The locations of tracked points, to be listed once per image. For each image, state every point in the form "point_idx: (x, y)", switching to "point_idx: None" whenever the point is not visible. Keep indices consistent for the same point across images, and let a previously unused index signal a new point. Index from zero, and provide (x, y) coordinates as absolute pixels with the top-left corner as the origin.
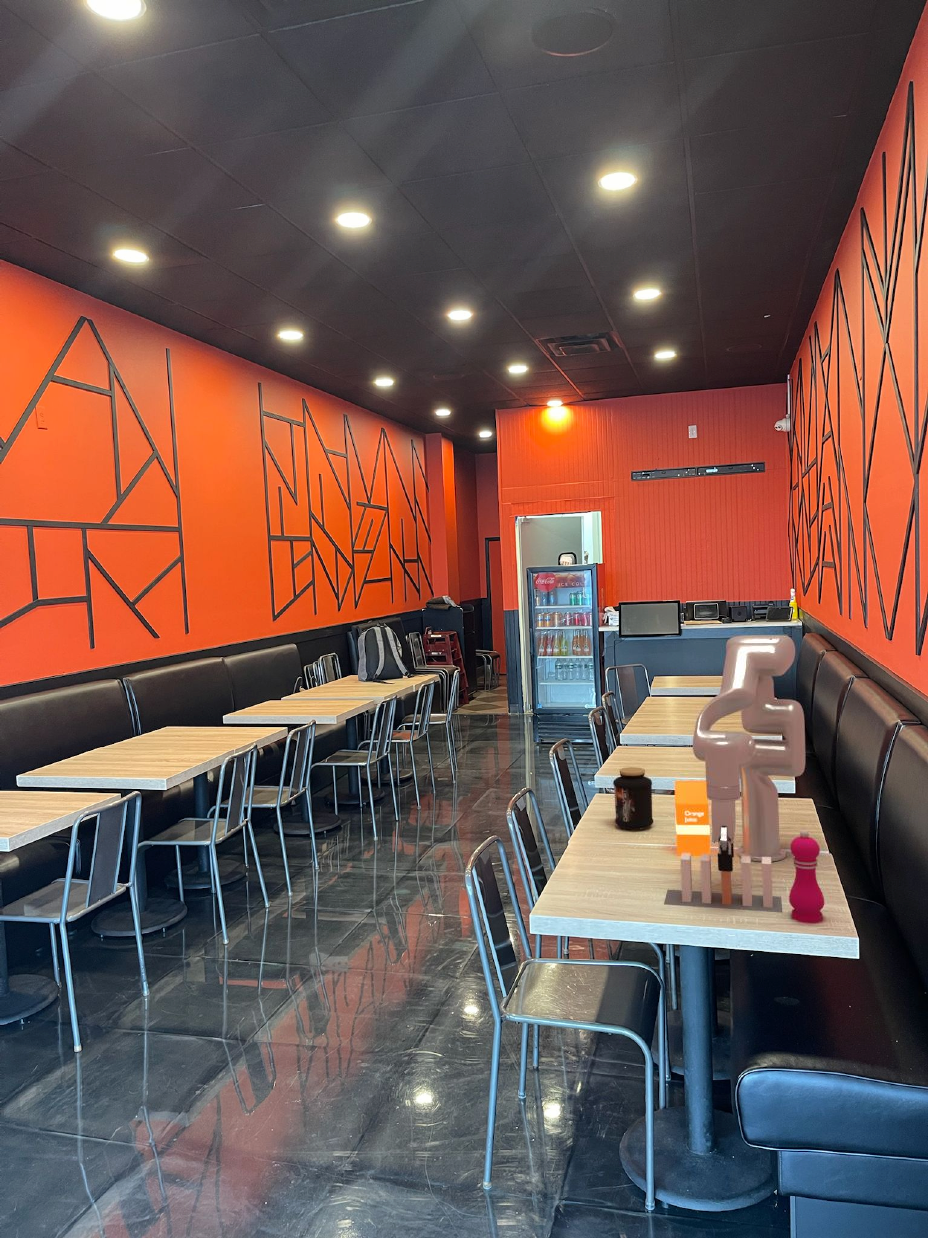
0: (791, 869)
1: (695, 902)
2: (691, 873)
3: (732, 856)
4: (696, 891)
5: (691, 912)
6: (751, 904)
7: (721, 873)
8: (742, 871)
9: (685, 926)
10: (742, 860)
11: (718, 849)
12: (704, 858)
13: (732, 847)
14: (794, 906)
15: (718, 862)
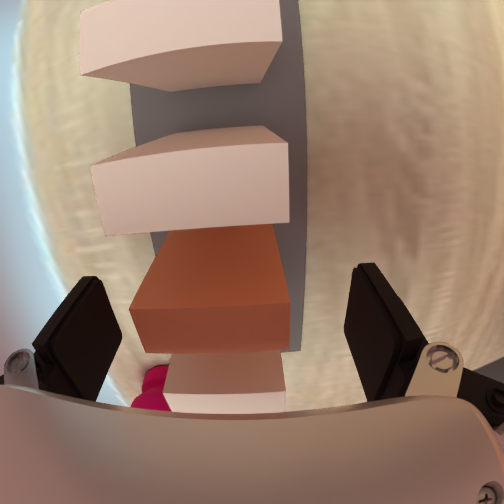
0: (478, 332)
1: (172, 108)
2: (259, 70)
3: (345, 332)
4: (302, 96)
5: (105, 112)
6: None
7: (151, 266)
8: (172, 361)
9: (16, 133)
10: (199, 398)
11: (4, 376)
12: (147, 188)
13: (360, 376)
14: (137, 397)
15: (61, 307)
